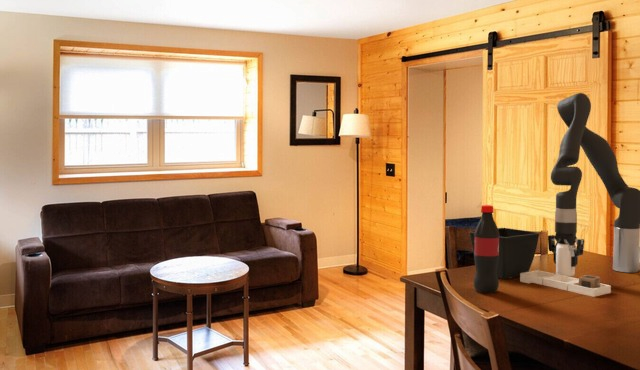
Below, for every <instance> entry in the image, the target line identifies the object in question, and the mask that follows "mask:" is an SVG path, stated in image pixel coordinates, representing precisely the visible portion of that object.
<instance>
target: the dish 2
mask: <svg viewBox="0 0 640 370" xmlns="http://www.w3.org/2000/svg"><path fill="white" fill-rule="evenodd" d="M574 282H579V277H578V278H576V277H573V276H570V277H568V276H564V275H557V276H552V277H547V278H543V285H542V286H545V287H546V286H547V287H549V288H555V289H559V290H562V291H568V284H569V283H574Z"/></svg>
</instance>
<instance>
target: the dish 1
mask: <svg viewBox="0 0 640 370" xmlns="http://www.w3.org/2000/svg"><path fill="white" fill-rule="evenodd" d="M557 275H559V274H556V273H554V272H549V271H545V270H540V269H536V270H529V272H523V273H520V277H519V282H520V283H525V284H528V285H529V284H532V283H533V284H537V285H541V286H544V285H543V278H547V277H552V276H557Z"/></svg>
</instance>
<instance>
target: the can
mask: <svg viewBox="0 0 640 370" xmlns="http://www.w3.org/2000/svg"><path fill="white" fill-rule="evenodd" d="M571 248H574V245H573V246H571ZM573 251H574V250H573ZM571 257H572V255H571V251H569V247H568V244H561V243H560V244H559V243H558V244H557V246H556V263H555V274H559V275H564V276H568V277H573V276H575V274H576V271H575V270H576V266H575V267H572V266H571Z"/></svg>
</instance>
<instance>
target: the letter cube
mask: <svg viewBox="0 0 640 370" xmlns="http://www.w3.org/2000/svg"><path fill="white" fill-rule="evenodd" d="M578 279H579V286H583V287H588V288H592V289H594V288H598V287H600V283H601V277H600V276H595V275H589V274H584V275H581V276H578Z"/></svg>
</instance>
